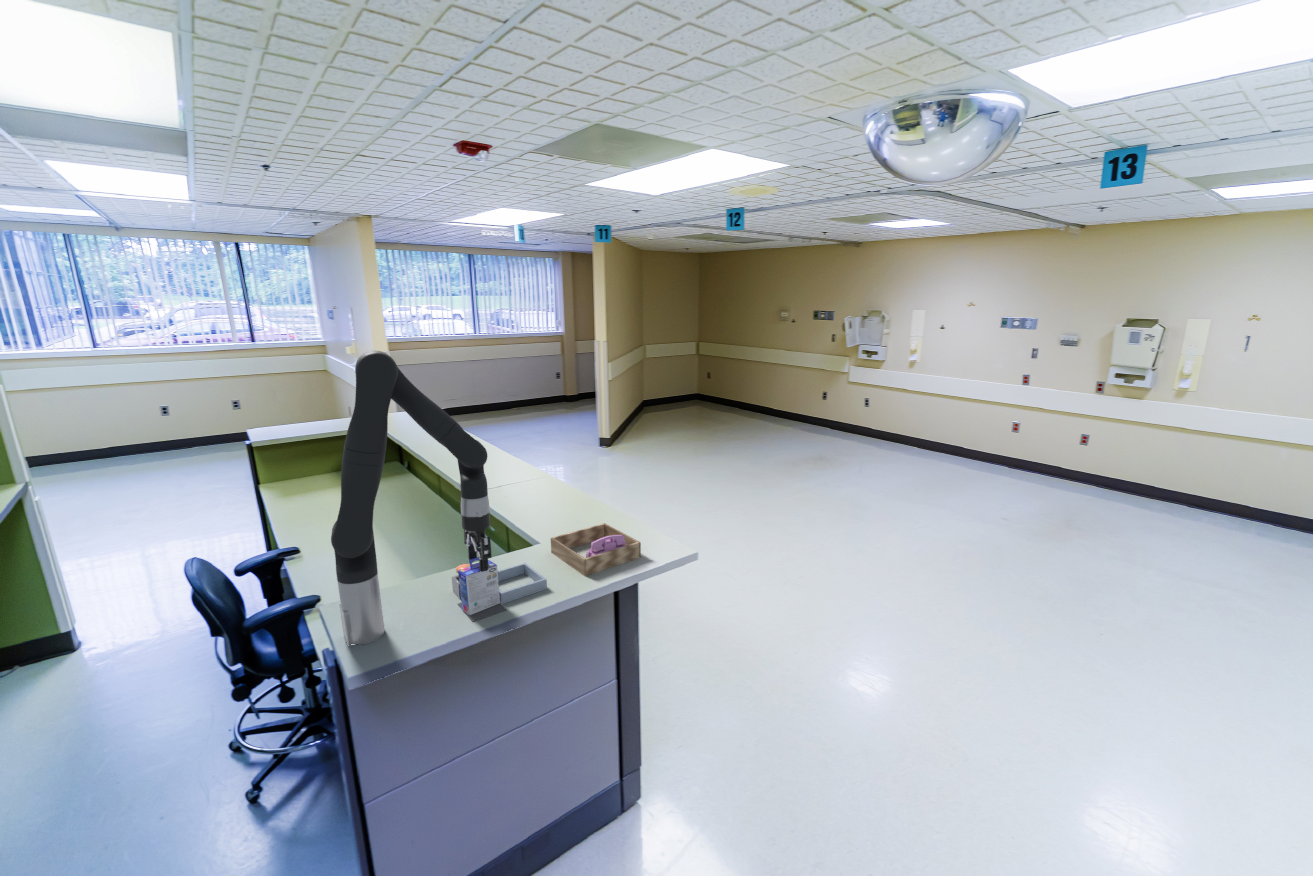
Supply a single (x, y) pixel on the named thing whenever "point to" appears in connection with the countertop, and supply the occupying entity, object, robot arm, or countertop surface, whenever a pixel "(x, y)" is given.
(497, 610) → the mat
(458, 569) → the release button
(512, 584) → the countertop surface
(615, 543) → the toy telephone
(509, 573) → the collar
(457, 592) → the button housing
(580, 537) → the phone corral
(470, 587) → the ink cartridge box
